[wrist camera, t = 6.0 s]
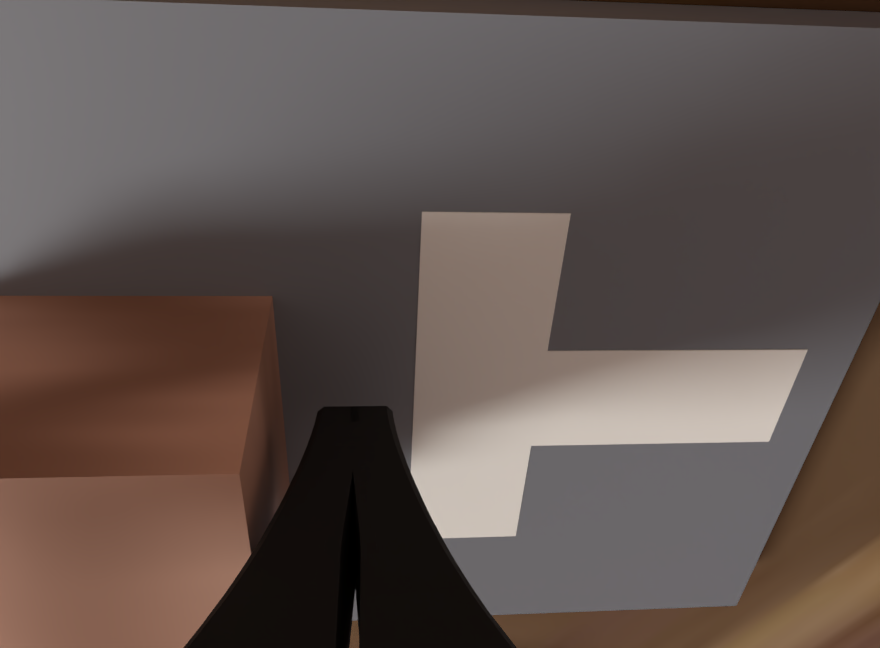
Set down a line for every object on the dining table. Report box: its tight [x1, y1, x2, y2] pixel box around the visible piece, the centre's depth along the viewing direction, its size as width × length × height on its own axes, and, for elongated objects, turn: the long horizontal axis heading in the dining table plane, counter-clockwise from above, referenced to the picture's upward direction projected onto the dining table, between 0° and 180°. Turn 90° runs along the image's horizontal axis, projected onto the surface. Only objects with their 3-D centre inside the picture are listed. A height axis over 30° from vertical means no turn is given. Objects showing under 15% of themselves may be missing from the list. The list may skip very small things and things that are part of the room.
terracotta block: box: [0, 296, 290, 648], centre depth 12 cm, size 5×5×4 cm
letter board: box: [0, 0, 880, 620], centre depth 15 cm, size 18×14×1 cm
